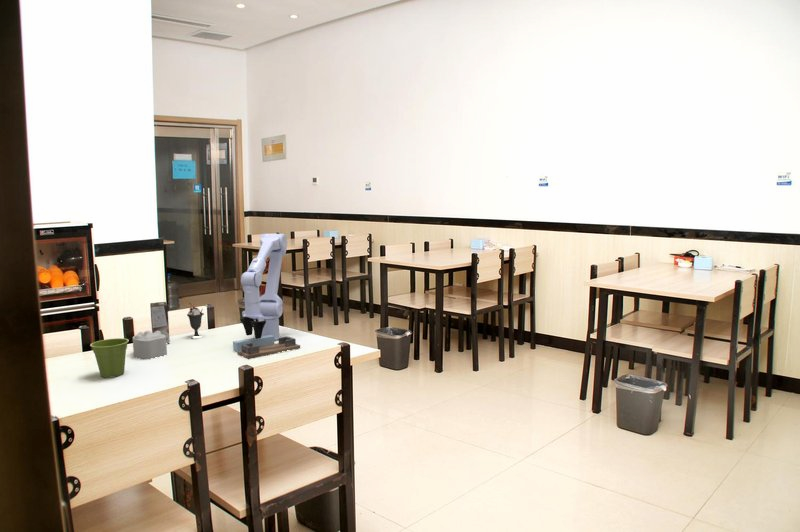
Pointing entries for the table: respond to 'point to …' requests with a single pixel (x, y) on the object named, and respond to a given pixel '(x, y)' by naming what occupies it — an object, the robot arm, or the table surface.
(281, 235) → the robot arm
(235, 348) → the slat
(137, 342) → the lumpy-topped squat cylinder
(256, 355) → the board
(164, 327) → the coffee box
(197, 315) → the sundae
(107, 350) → the plant pot
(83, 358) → the table surface
